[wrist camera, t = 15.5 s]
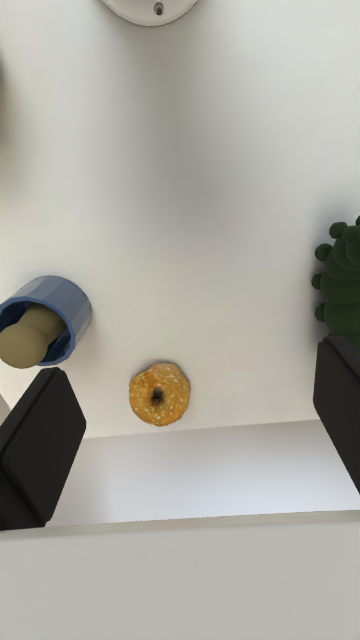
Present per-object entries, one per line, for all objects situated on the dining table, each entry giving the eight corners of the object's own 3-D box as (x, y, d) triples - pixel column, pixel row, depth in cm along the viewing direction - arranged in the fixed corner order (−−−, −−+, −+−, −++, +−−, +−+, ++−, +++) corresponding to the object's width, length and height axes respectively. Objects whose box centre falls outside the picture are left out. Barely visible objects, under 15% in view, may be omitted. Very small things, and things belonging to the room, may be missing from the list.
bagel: (200, 369, 46) (201, 389, 42) (177, 415, 51) (177, 438, 47) (140, 351, 44) (135, 370, 40) (123, 401, 49) (117, 423, 45)
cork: (37, 326, 42) (-7, 375, 32) (29, 288, 39) (-22, 329, 30) (79, 329, 42) (47, 378, 32) (74, 290, 39) (37, 332, 30)
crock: (10, 280, 39) (-22, 302, 33) (79, 270, 38) (59, 291, 32) (38, 340, 44) (13, 369, 38) (100, 333, 43) (85, 361, 37)
